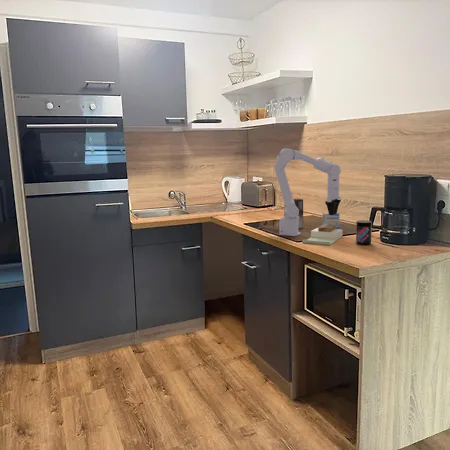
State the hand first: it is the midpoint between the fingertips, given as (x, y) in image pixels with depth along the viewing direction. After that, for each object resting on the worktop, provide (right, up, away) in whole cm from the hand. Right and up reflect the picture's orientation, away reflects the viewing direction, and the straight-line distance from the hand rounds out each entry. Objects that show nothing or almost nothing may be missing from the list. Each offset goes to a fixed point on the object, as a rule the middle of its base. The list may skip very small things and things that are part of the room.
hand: (332, 214), depth 215 cm
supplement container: (+8, -14, -24) cm, 29 cm away
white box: (-5, -11, -7) cm, 14 cm away
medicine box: (+3, -8, +15) cm, 17 cm away
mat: (-10, -13, -16) cm, 24 cm away
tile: (-5, -8, -7) cm, 12 cm away
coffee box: (-17, -7, +21) cm, 28 cm away
